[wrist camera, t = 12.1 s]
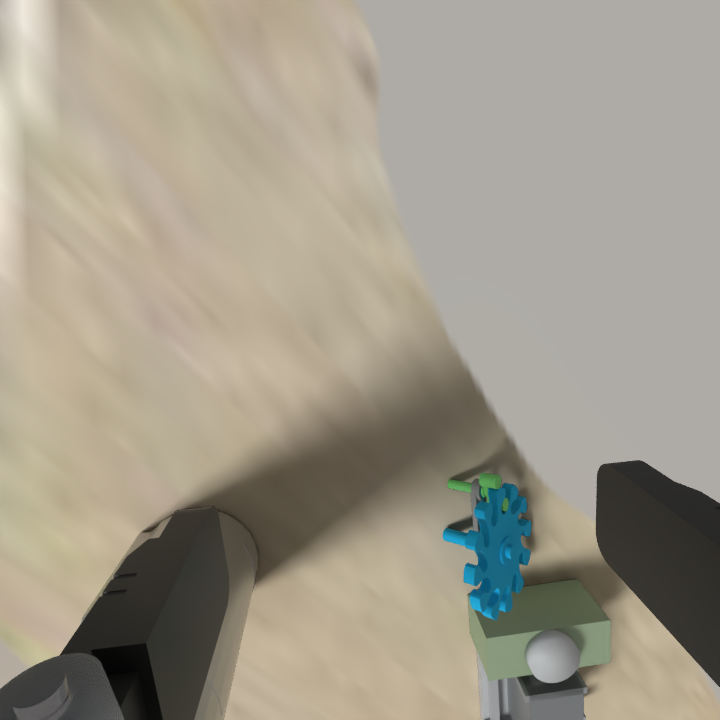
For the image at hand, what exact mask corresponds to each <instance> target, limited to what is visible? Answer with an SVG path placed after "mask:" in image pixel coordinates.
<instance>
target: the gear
mask: <svg viewBox="0 0 720 720" xmlns="http://www.w3.org/2000/svg"><path fill="white" fill-rule="evenodd" d="M500 485H501V477H500V476H499V475H494V474H487V473H481V474H480V477H479V479H478V478H476V479H474V480H473V482H472V483H468V482H462V481H456V480H451V479H450V480H449V481H448V488H450V489H455V490H460V491H465V492H470V493H471V502H472V517H473V530H469V532H468V533H464V532H460V531H457V530H453V529H449V528H446V529H445V530H444V532H443V539H444V540H445V541H448V542H452V543H456V544H459V545H463V546H465V547H466V548H467V549H471V550H474V551H475V552H476V554H477V556H478V565H477V566H476V565H473V564H469V563H467V564H466V565H465V568H464V582H465V583H468V584H471V585H474V586H477V585H478V584H479V583H480V582H481V581H482V583H481V586H480V588H479V589H478V590H476V589H474V590H472V592H471V593H470V604H471V607H472V609H475V610H477V611H480V612H482V614H483V615H484V616H486V617H488V618H491V619H493V620H496V621H497V619H498V616H499V610H501V611H504V612H509V611H511V610H512V605H513V601H512V591H513V592H516V593H520V591H521V589H522V588H523V585H524V579H523V577H522V576H521V573H520V569H519V564H523V565H526V566H527V565H528V562H529V559H530V554H531V552H530V550H529V549H526V548H524V547H523V545H522V543H521V535H523V536H527V537H529V536H530V534H531V521H529V520H524V519H519V520H518V516H519V513H525V512H526V510H527V502H526V498H525V497H522V496H518V489H517V488H516V486H515V485H513V484H507V483H504V484H503V486H502V488H501V487H500ZM486 498H487V502H486Z"/></svg>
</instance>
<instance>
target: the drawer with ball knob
mask: <svg viewBox="0 0 720 720" xmlns="http://www.w3.org/2000/svg"><path fill="white" fill-rule="evenodd" d="M512 601H513V605H512V610H511V611H509V612H504V611H501V610H499V616H498V619H497V621H496V620H493V619H491V618H488V617H486V616H484V615H483V614H482V612H480V611H477V610H475V609H472V607H471V604H470V594H468V608H469V623H470V634H471V637H472V639H473V642H474V644H475V647H476V650H477V664H478V680H479V696H480V712H481V719H482V720H512V718H511V716H510V713H509V711H508V694H507V678H513V677H520V676H526V675H534V676H535V677H536V678H537V679H538V680H540V681H543V682H546V683H557V682H561V681H563V680H566V679H567V678H569V677H570V676H571V675H573V674H574V672H575V671H576V670H577V671H578V673H579V667H586V666H592V665H599V664H606V663H610V627H611V620H610V619H609V618H608V616H607V615H606V614H605V613H604V611H603V610H602V609H601V608H600V606H599V605H598V604H597V603H596V601H595V600H594V599H593V598H592V596H591V595H590V594H589V592H588V591H587V590H586V589H585V587H584V586H583V585H582V584H581V582H580V581H579V580H578V579H573V580H566V581H559V582H552V583H545V584H538V585H531V586H524V587H523V588H522V589H521V591H520V593H516V592H513V591H512ZM584 720H586V716H585V714H584Z"/></svg>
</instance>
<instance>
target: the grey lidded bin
mask: <svg viewBox="0 0 720 720" xmlns="http://www.w3.org/2000/svg"><path fill="white" fill-rule="evenodd" d="M507 694H508V711H509V713H510V716H511V718H512V720H584V694H587V686H586V684H585V682H584V681H583V679H582V678H581V676H580V674H579V673H578V671H577V670H576V671H575V672H574V674H573V675H571V676H570V677H569V678H567V679H566V680H563V681H561V682H557V683H546V682H543V681H540V680H538V679H537V678H536V677H535V676H534V675H526V676H520V677H513V678H507Z"/></svg>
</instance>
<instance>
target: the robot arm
mask: <svg viewBox="0 0 720 720" xmlns="http://www.w3.org/2000/svg"><path fill="white" fill-rule="evenodd" d="M596 505H597V506H596V537H597V542H598V546H599V549H600V551H601V553H602V556H603V557H604V559H605V561H606V562H607V563H608V565H609V566H610V567H611V568H612V569H613V570H614V571H615V572H616V573H617V575H618V576H619V577H620V578H621V579H622V580H623V581H624V582H625V583H626V584H627V586H628V587H629V588H630V589H631V590H632V591H633V592H634V593H635V594H636V595H637V597H638V598H639V599H640V600H641V601H642V602H643V603H644V604H645V605H646V607H647V608H648V609H649V610H650V611H651V612H652V613H653V614H654V615H655V616H656V618H657V619H658V620H659V621H660V622H661V623H662V624H663V625H664V626H665V627H666V629H667V630H668V631H669V632H670V633H671V634H672V635H673V636H674V637H675V639H676V640H677V641H678V642H679V643H680V644H681V645H682V646H683V647H684V648H685V650H686V651H687V652H688V653H689V654H690V655H691V656H692V657H693V658H694V659H695V661H696V662H697V663H698V664H699V665H700V666H701V667H702V668H703V669H704V670H705V672H706V673H707V674H708V675H709V676H710V677H711V678H712V679H713V680H714V682H715V683H716V684H717V685H718V686H719V687H720V503H718V502H716V501H715V500H713V499H711V498H710V497H709V496H707V495H705V494H703V493H702V492H700V491H698V490H695V489H692V488H690V487H687V486H685V485H682V484H679V483H677V482H674V481H672V480H671V479H670V478H668V477H666V476H665V475H663V474H662V473H660V472H659V471H657V470H656V469H654V468H652V467H651V466H650V465H648V464H646V463H645V462H643V461H640V460H636V461H627V462H618V463H609V464H603V465H601V466H600V468H599V470H598V473H597V501H596ZM257 566H258V552H257V548H256V545H255V542H254V540H253V538H252V536H251V535H250V533H249V532H248V530H247V529H246V528H245V527H244V526H243V525H242V524H241V523H240V522H238V521H237V520H235V519H234V518H233V517H231V516H229V515H226V514H224V513H222V512H219V511H217V509H216V508H215V507H214V506H212V507H203V508H194V509H185V510H177V511H175V513H174V514H173V515H172V516H170V517H168V518H167V519H165V520H163V521H162V522H161V523H160V524H159V525H158V526H157V527H156V528H155V529H153V530H152V531H150V532H145V533H140V534H139V535H138V536H137V538H136V539H135V541H134V542H133V544H132V545H131V547H130V548H129V550H128V551H127V553H126V554H125V555H124V557H123V558H122V560H121V561H120V563H119V564H118V566H117V567H116V569H115V570H114V572H113V573H112V575H111V576H110V577H109V579H108V580H107V582H106V583H105V585H104V586H103V588H102V589H101V591H100V592H99V594H98V595H97V597H96V598H95V599H94V601H93V602H92V604H91V605H90V607H89V608H88V610H87V611H86V613H85V614H84V616H83V618H82V621H81V625H80V626H79V628H78V629H77V631H76V632H75V633H74V635H73V636H72V638H71V639H70V641H69V642H68V644H67V645H66V647H65V648H64V650H63V651H62V653H61V654H60V656H57V657H53V658H51V659H48V660H45V661H43V662H41V663H39V664H36V665H34V666H33V667H31V668H29V669H27V670H25V671H24V672H22V673H21V674H19V675H18V676H16V677H15V678H13V679H12V680H11V681H9V682H8V683H7V684H6V685H4V686H3V687H2V688H1V689H0V720H224V717H225V712H226V708H227V703H228V699H229V694H230V690H231V685H232V681H233V676H234V671H235V667H236V662H237V658H238V653H239V649H240V644H241V640H242V635H243V631H244V626H245V622H246V617H247V613H248V608H249V604H250V599H251V595H252V591H253V588H254V584H255V579H256V571H257Z"/></svg>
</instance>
